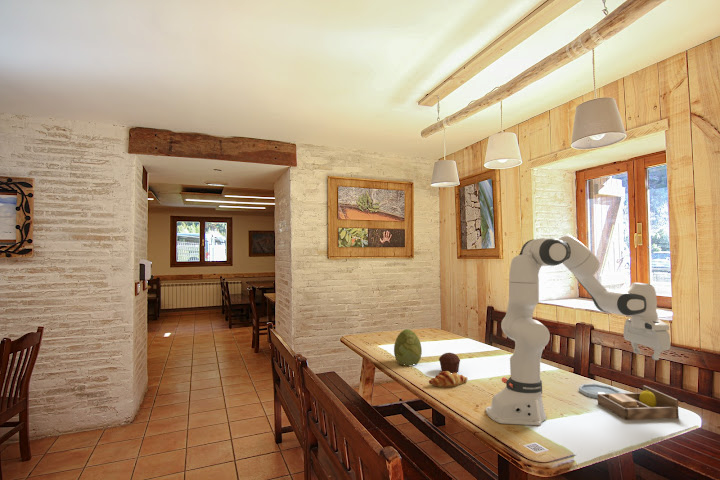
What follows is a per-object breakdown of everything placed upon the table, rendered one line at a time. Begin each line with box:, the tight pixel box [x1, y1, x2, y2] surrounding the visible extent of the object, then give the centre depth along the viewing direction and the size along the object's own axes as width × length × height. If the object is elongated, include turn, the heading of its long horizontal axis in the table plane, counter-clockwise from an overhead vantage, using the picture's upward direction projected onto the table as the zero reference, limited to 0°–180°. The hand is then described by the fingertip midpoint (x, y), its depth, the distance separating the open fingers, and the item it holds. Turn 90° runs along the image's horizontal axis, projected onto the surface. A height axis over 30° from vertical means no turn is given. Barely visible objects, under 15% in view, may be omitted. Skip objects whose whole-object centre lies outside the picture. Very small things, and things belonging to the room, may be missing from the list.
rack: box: [597, 385, 680, 421], centre depth 153 cm, size 21×16×7 cm
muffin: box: [438, 352, 461, 374], centre depth 207 cm, size 12×11×10 cm
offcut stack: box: [609, 394, 639, 408], centre depth 153 cm, size 6×9×5 cm
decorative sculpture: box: [393, 328, 423, 366], centre depth 224 cm, size 16×16×20 cm
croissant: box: [428, 371, 469, 388], centre depth 187 cm, size 21×10×8 cm, turn 107°
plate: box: [578, 383, 622, 400], centre depth 172 cm, size 16×16×2 cm
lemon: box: [639, 390, 656, 407], centre depth 153 cm, size 6×6×8 cm
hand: (646, 356), depth 154 cm, fingers open, 8 cm apart
